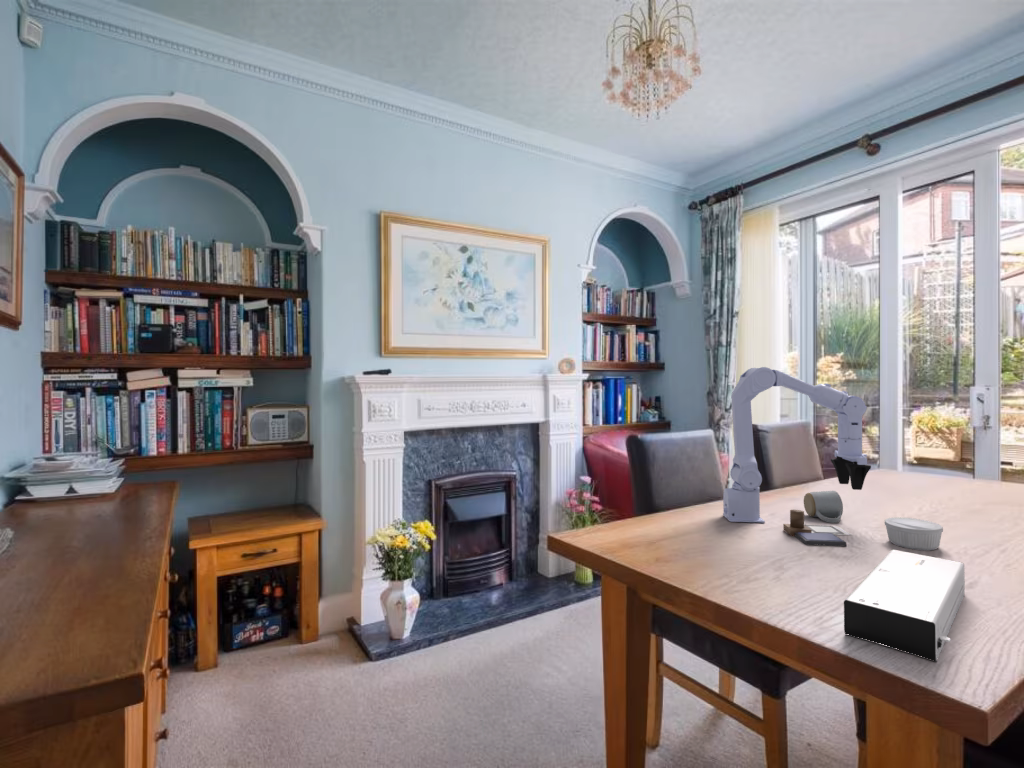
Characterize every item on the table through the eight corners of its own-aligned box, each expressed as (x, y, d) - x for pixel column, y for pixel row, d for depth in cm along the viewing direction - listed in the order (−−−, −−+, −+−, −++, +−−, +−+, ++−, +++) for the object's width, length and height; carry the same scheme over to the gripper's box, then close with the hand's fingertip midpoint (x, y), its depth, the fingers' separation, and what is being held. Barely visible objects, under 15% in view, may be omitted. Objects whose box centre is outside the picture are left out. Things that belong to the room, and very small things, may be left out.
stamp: (790, 536, 132) (790, 513, 132) (783, 530, 137) (783, 508, 137) (811, 537, 131) (811, 513, 131) (803, 531, 136) (803, 509, 136)
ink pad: (806, 544, 125) (806, 540, 125) (794, 536, 132) (794, 531, 132) (846, 546, 123) (846, 541, 123) (832, 537, 130) (832, 532, 130)
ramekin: (889, 548, 122) (888, 526, 122) (881, 535, 132) (880, 515, 132) (949, 555, 117) (949, 532, 117) (936, 541, 126) (936, 520, 126)
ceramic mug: (801, 513, 154) (801, 487, 154) (830, 513, 153) (830, 488, 153) (818, 523, 143) (818, 496, 143) (850, 524, 142) (850, 496, 142)
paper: (809, 533, 133) (809, 532, 133) (797, 525, 141) (797, 524, 141) (851, 535, 132) (851, 534, 132) (836, 526, 140) (836, 525, 140)
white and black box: (891, 579, 104) (891, 549, 104) (972, 597, 95) (972, 564, 95) (844, 638, 80) (843, 599, 80) (945, 670, 71) (945, 625, 71)
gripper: (879, 441, 136) (879, 492, 136) (853, 435, 150) (853, 481, 150) (850, 441, 137) (850, 491, 137) (826, 435, 151) (827, 481, 151)
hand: (850, 486), depth 143 cm, fingers open, 7 cm apart
